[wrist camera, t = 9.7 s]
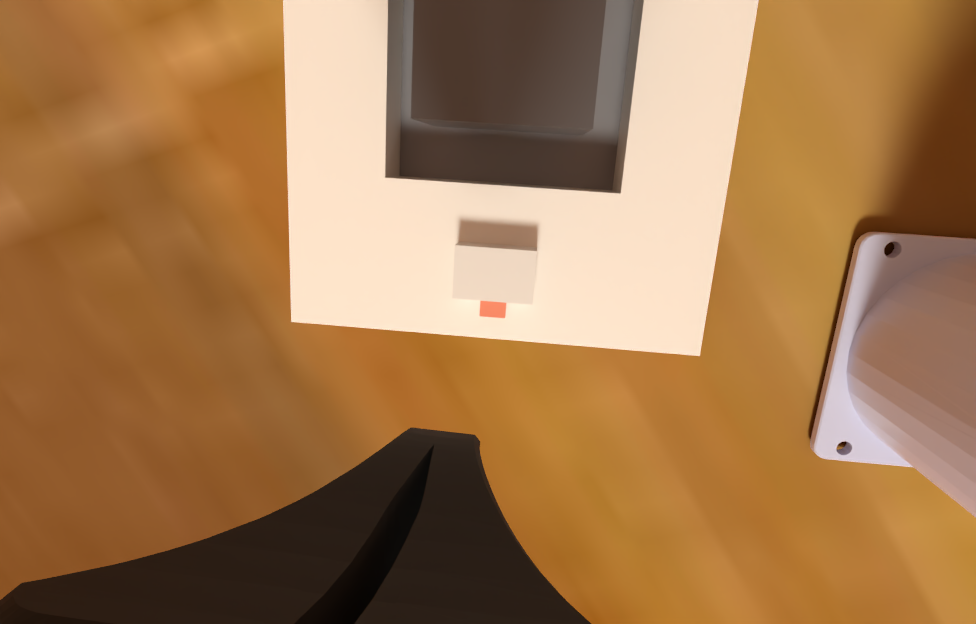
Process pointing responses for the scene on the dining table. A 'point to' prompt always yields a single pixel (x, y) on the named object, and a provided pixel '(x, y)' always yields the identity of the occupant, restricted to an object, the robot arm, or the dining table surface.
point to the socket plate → (513, 184)
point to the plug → (507, 64)
